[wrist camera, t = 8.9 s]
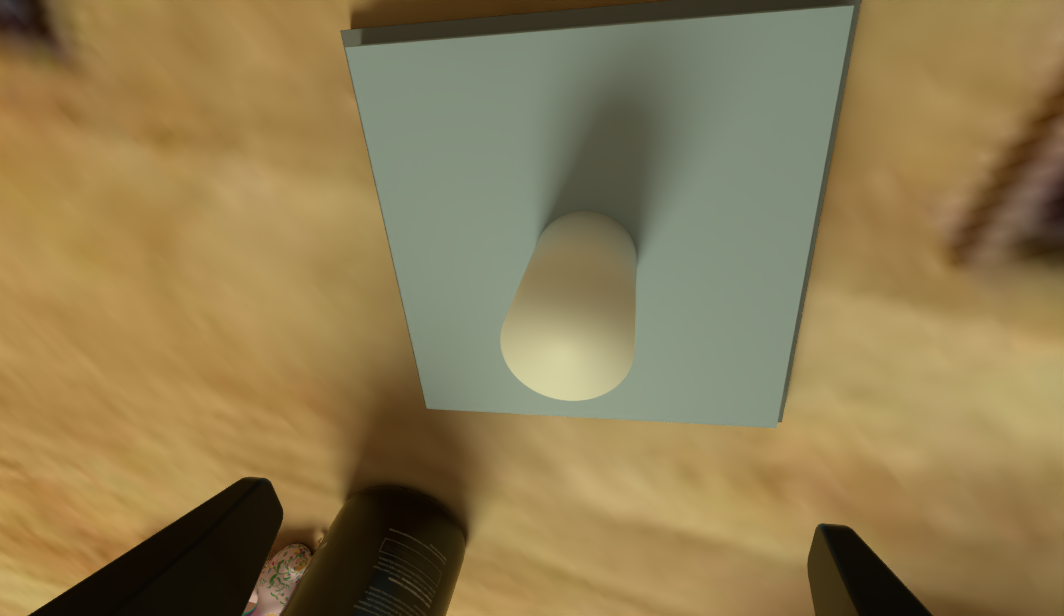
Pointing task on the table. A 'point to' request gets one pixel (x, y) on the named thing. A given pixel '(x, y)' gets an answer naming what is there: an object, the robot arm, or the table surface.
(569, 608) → the table surface
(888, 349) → the table surface
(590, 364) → the lid
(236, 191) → the table surface
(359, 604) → the supplement bottle
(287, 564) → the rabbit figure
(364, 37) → the mat
